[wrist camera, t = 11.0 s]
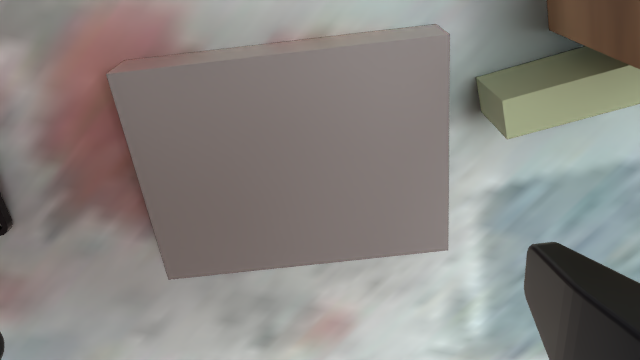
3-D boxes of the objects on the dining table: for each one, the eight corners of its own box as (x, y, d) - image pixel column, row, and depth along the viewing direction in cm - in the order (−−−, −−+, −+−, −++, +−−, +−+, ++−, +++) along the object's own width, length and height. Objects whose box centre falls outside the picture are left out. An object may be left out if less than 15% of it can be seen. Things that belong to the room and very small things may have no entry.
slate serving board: (179, 252, 24) (168, 279, 22) (124, 60, 19) (105, 73, 18) (437, 225, 23) (448, 250, 21) (436, 24, 19) (449, 34, 17)
